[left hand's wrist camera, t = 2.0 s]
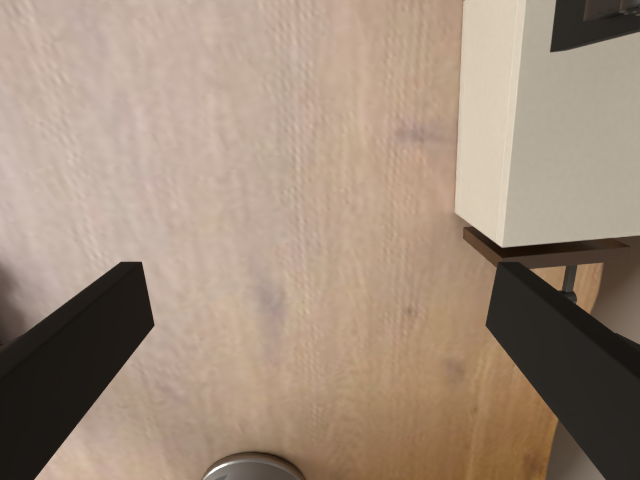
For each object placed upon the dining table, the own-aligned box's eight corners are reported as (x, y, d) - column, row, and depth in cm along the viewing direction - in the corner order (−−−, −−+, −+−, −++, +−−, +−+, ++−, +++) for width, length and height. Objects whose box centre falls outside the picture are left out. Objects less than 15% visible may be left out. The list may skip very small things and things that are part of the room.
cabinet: (565, 202, 34) (654, 234, 25) (454, 212, 34) (501, 247, 25) (600, -15, 28) (735, -76, 19) (463, 1, 28) (530, -52, 19)
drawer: (554, 279, 36) (613, 321, 29) (460, 287, 36) (495, 330, 29) (593, 35, 28) (687, 8, 21) (472, 48, 28) (524, 26, 21)
